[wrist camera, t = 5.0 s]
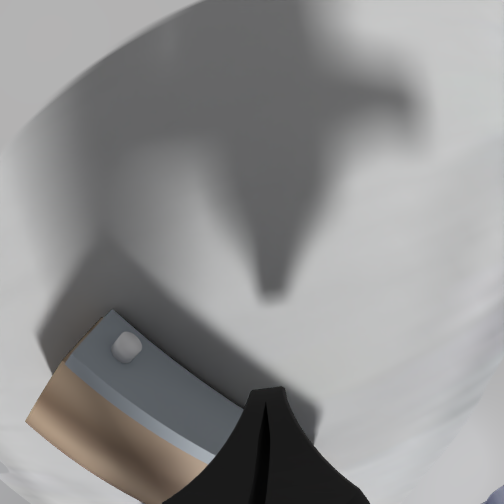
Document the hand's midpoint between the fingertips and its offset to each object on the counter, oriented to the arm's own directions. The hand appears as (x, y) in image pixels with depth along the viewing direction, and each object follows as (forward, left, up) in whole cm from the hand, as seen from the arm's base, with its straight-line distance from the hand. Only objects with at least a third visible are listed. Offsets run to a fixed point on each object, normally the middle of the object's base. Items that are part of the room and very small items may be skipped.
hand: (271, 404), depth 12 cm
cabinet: (-10, -1, -4) cm, 11 cm away
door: (-4, -1, -4) cm, 6 cm away
